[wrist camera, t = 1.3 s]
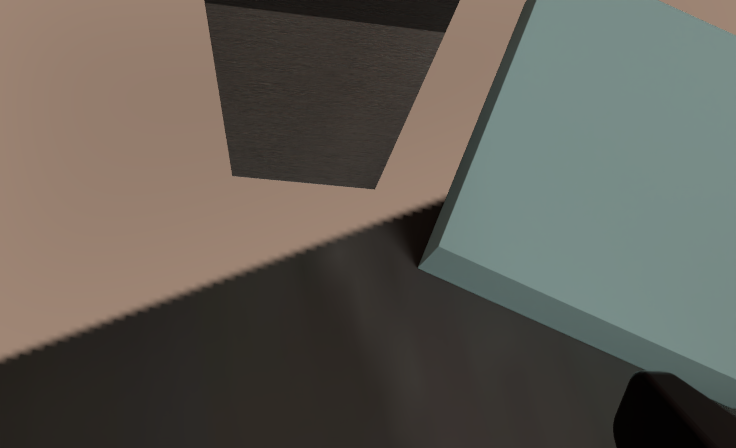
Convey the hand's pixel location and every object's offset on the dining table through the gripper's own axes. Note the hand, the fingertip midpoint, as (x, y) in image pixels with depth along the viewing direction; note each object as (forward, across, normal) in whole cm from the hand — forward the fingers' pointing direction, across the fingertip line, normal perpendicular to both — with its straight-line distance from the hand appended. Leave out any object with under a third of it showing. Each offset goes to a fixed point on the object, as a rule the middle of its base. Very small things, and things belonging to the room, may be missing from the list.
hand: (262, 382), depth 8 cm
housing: (+17, -1, +3) cm, 17 cm away
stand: (+16, -12, +4) cm, 20 cm away
